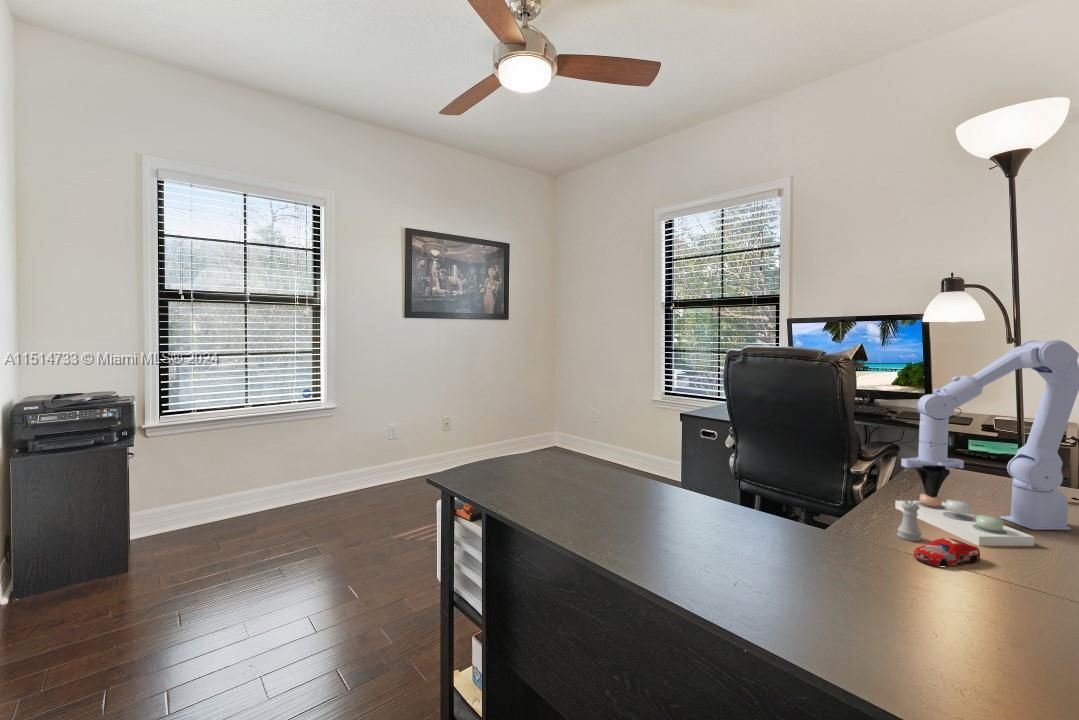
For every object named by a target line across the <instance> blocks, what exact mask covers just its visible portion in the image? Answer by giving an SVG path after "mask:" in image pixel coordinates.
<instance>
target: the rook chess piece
mask: <svg viewBox="0 0 1079 720" xmlns="http://www.w3.org/2000/svg"><path fill="white" fill-rule="evenodd" d="M902 501H903V504H902V505H901V506H902V507H903V508H904V510H903V512H902V511H901V512H902V519H901V523H900V524H899V526H898V528H897V531H898V532H897V533H896V535H897V536H898V538H899V539H901V540H905V541H908V542H918V543H919V542H920V541H921V540H923V538H922V531H920V528H919V525H918V518H917V515H918V514H917V510H918V509H919V506H918V503H917V502H914V503H913V501H914V500H902ZM908 501H910V503H908Z"/></svg>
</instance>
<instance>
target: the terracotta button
mask: <svg viewBox="0 0 1079 720" xmlns="http://www.w3.org/2000/svg"><path fill="white" fill-rule="evenodd" d="M919 501H920V503H921V504H923V505H927V506H932V507H941V506H942V502H943V497H941V496H939V495H937V497H931V496H928V495H926V494H925V493H920V494H919Z"/></svg>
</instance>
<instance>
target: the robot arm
mask: <svg viewBox="0 0 1079 720" xmlns="http://www.w3.org/2000/svg"><path fill="white" fill-rule="evenodd" d="M1078 359H1079V352H1078V351H1077V350H1076V349H1075V348H1074V347H1073V346H1072V345H1071V344H1069V343H1068V342H1067V341H1064V340H1059V339H1057V340H1056V339H1054V340H1043V341H1042V340H1028V341H1025V342H1023V343H1021V344H1020V346H1015V347H1013V348H1011V349H1010V350H1009V351H1008V352H1006V353H1005V354H1003V355H1001V356H1000V357H999V358H998V359H996V360H994V361H993V362H991V363H989V364H988V365H986V366H985V367H984V368H982V369H980V370H979V371H978V372H975V373H974V374H972V375H971V376H970V375H961V376H954V377H952V378H951V379H950V380H951V381H950V382H948V383H947V384H945V385H943V386H941V387H940V388H935V389H933V390H932V391H933V393H930V394H929V393H927V394H925V395H922V396H921V397H920V398H919V399H918V401H917V403H916V404H915V407H916V410H917V412H918V413H919V427H918V428H919V430H918V454H917V455H918V456H917V457H907V458H905V457H904V458H902V457H901V460H900V461H901V463H900V465H901V467H903V468H906V469H911V468H915V471H916V473H917V474H918V476H919V477H920V481H921V483H922V486H923V490H924V494H926V495H928V496H931V497H937V496H939V495H938V494H939V492H940V489H941V486H942V485H943V483H944V481H945V480H946V478H947V477H948V476H949V475H950V473H951V472H950V471H951V470H950V469H948V468H958V469H964V468H965V467H964V465H965V460H962V459H959V458H948V451H949V450H948V449H949V427H950V426H949V420H950V419H949V418H950V417H952V416H953V414H955V413H954V412H955V410H956V409H958V408H959V407H961V406H964V404H967V403H968V402H970V401H972V400H974V399H975V398H977V397H978V396H981V395H982V393H983V389H984V387H986V386H987V385H989V384H991V383H993V382H994V381H997V380H998V379H1001V378H1003V377H1005V376H1007V375H1009V374H1011V373H1012V372H1015V371H1016V370H1019V369H1032V370H1033V371H1035V372H1036V373H1038V374H1039V376H1041V378H1042V379H1044V380H1045V383H1046V384H1045V386H1044V388H1043V389H1044V390H1043V393H1042V396H1041V399H1040V402H1039V405H1038V408H1037V410H1036V413H1035V417H1034V419H1033V423H1032V425H1031V429H1030V432H1029V434H1028V437H1027V440H1026V443H1025V444H1024V445H1023V446H1022V447H1019V448H1018V449H1017V450H1016V454H1015V455H1014V456H1013V458H1011V459H1010V460H1009V461H1008V463H1007V465H1006V470H1007V473H1008V474H1009V476H1010V477H1011V478H1012V482H1011V483H1012V485H1011V504H1010V505H1011V507H1010V515H1000V516H999V517H1000V518H999V519H1001V520H1005V521H1008V522H1010V523H1014V524H1015V525H1019V526H1022V527H1024V528H1027V529H1030V530H1036V531H1037V530H1047V531H1049V530H1050V531H1052V530H1054V531H1056V530H1057V531H1059V530H1060V531H1070V530H1071V529H1072V528H1071V527H1070V526H1067V525H1068V507H1069V502H1068V498H1067V496H1066V494H1065V493H1064V492H1063V491H1061V490H1060V489H1057V488H1059V487H1060V486H1062V484H1063V480H1064V476H1063V472H1062V467H1063V464H1064V463H1063V461H1062V458H1061V456H1060V455H1059V452H1058V451H1059V449H1060V445H1061V442H1062V440H1063V437H1064V433H1065V431H1066V430H1067V429H1066V428H1067V425H1068V423H1069V419H1070V416H1071V414H1072V411H1073V408H1074V405H1075V402H1076V400H1077V396H1078V393H1079V362H1078Z"/></svg>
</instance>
